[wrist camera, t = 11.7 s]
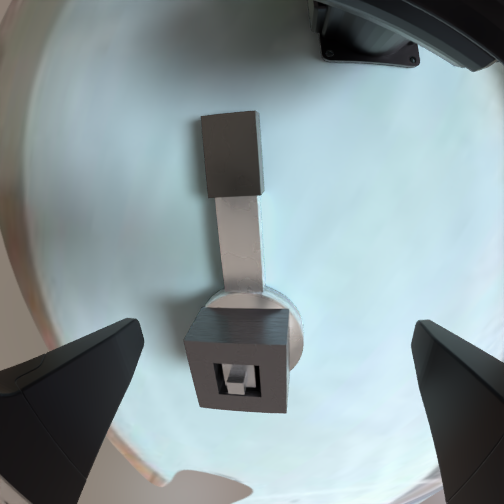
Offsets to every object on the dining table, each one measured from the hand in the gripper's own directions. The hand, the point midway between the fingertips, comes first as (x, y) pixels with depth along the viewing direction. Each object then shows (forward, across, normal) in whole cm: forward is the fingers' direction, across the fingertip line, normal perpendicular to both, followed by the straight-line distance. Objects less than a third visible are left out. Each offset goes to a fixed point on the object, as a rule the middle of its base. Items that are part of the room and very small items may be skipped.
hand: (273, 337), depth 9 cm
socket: (+10, +3, +8) cm, 13 cm away
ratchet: (+12, +3, +2) cm, 13 cm away
